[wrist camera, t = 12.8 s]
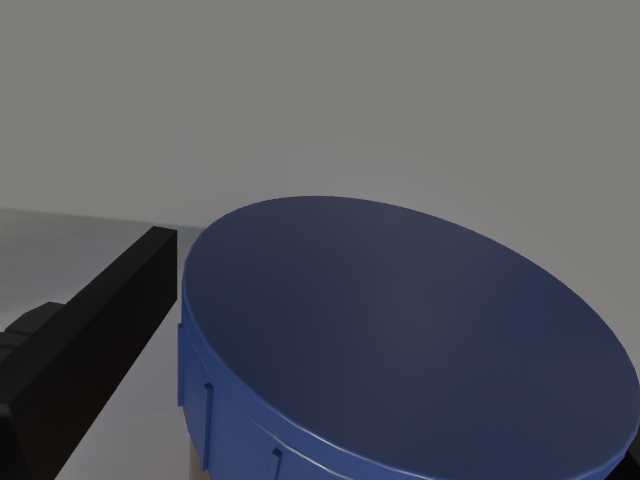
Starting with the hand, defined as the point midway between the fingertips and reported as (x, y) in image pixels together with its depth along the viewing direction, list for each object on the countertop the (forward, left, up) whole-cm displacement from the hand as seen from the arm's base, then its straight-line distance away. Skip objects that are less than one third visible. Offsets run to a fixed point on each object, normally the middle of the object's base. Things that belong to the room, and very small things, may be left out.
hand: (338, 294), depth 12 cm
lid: (-3, +2, +3) cm, 5 cm away
